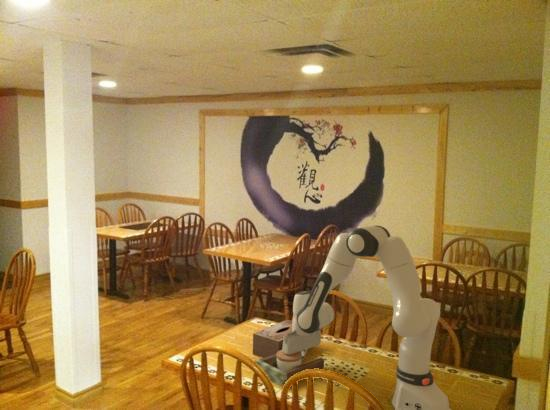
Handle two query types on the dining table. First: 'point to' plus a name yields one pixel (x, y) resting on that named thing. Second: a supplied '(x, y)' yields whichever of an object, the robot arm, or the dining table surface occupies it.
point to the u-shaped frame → (280, 376)
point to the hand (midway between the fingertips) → (301, 359)
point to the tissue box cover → (270, 339)
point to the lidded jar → (288, 360)
